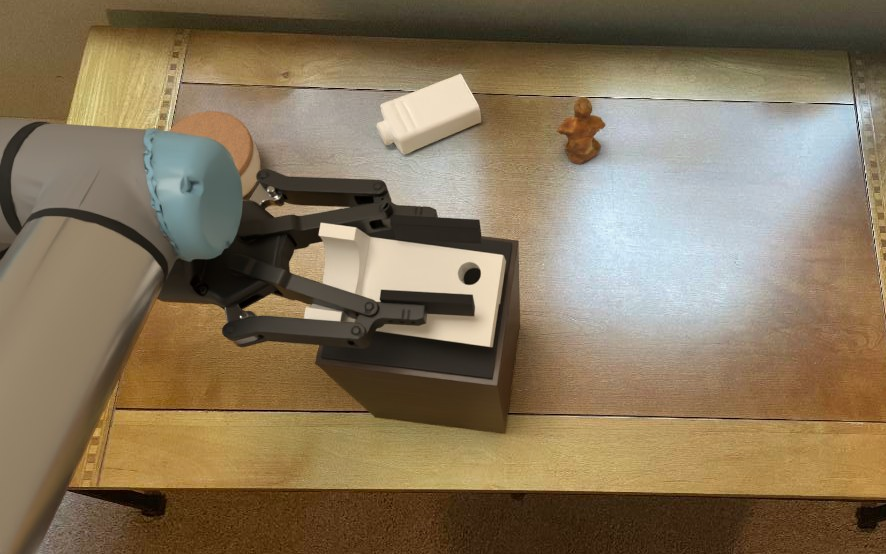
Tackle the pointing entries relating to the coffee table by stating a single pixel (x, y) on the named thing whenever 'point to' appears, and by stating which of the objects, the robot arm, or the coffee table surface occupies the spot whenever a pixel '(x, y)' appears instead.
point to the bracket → (412, 281)
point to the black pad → (425, 350)
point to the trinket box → (226, 141)
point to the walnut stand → (441, 379)
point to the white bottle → (428, 114)
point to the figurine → (581, 132)
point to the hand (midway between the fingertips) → (476, 268)
